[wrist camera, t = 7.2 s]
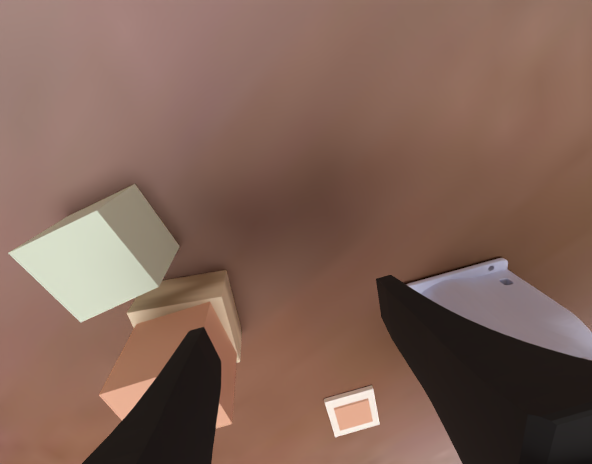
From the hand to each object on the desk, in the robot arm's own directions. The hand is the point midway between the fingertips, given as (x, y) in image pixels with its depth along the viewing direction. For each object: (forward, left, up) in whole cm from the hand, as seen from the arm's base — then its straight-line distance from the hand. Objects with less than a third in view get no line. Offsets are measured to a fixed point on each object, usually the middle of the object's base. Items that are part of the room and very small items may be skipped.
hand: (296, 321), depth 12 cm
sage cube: (+10, -2, -10) cm, 14 cm away
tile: (-2, +23, -10) cm, 25 cm away
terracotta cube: (+8, +5, -7) cm, 12 cm away
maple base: (+8, +5, -10) cm, 14 cm away
